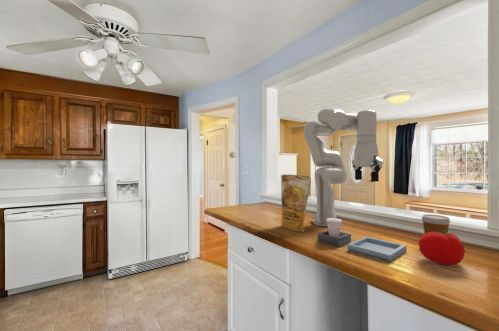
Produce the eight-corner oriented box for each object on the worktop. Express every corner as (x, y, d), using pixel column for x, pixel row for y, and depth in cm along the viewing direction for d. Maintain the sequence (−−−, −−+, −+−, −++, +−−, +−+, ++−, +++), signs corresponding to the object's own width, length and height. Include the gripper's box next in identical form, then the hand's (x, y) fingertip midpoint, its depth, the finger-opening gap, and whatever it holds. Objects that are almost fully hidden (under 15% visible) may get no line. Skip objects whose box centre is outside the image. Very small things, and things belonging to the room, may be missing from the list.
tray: (347, 250, 97) (347, 244, 97) (366, 242, 107) (366, 236, 107) (390, 262, 86) (390, 255, 86) (406, 251, 96) (406, 245, 95)
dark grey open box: (317, 241, 109) (317, 233, 109) (330, 237, 115) (330, 229, 115) (338, 247, 101) (338, 238, 101) (351, 242, 108) (351, 234, 108)
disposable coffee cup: (420, 241, 108) (420, 213, 108) (448, 244, 104) (448, 215, 103) (422, 247, 100) (422, 217, 100) (452, 251, 95) (452, 220, 95)
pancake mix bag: (285, 223, 140) (285, 174, 140) (312, 231, 125) (311, 175, 125) (276, 225, 137) (276, 174, 136) (302, 233, 121) (302, 175, 121)
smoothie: (343, 244, 104) (343, 211, 104) (327, 243, 106) (327, 210, 106) (340, 240, 111) (340, 208, 111) (325, 239, 112) (325, 208, 112)
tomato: (450, 273, 77) (450, 238, 77) (410, 259, 89) (410, 229, 89) (474, 265, 83) (474, 233, 83) (434, 253, 94) (434, 225, 94)
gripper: (345, 141, 113) (345, 179, 114) (374, 138, 97) (374, 182, 97) (359, 141, 115) (359, 178, 116) (390, 138, 99) (389, 181, 99)
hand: (366, 180), depth 106 cm, fingers open, 9 cm apart
